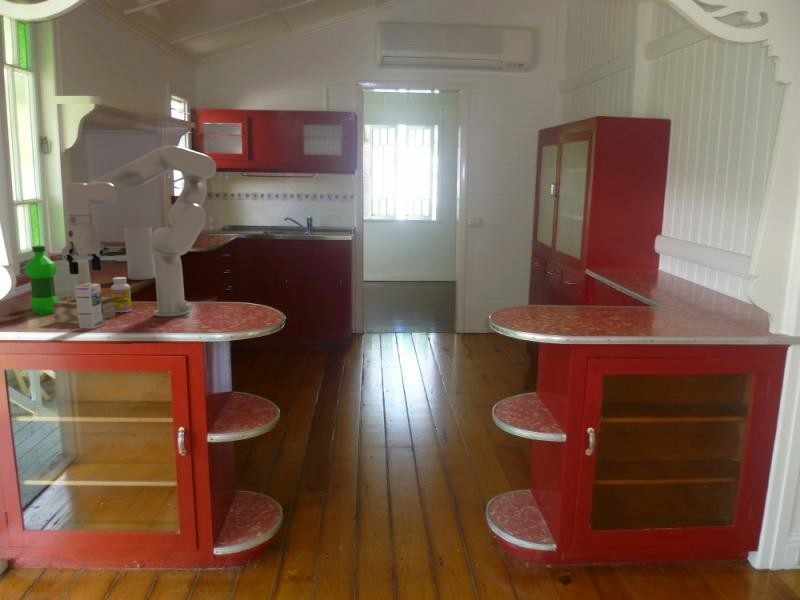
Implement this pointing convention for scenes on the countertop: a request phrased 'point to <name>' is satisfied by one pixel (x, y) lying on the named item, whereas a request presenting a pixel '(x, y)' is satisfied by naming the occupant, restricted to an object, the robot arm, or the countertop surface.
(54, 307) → the wooden box
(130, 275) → the cylinder vase
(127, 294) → the supplement bottle
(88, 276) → the cracker box
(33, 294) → the plastic bottle
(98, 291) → the syrup box
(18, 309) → the countertop surface
